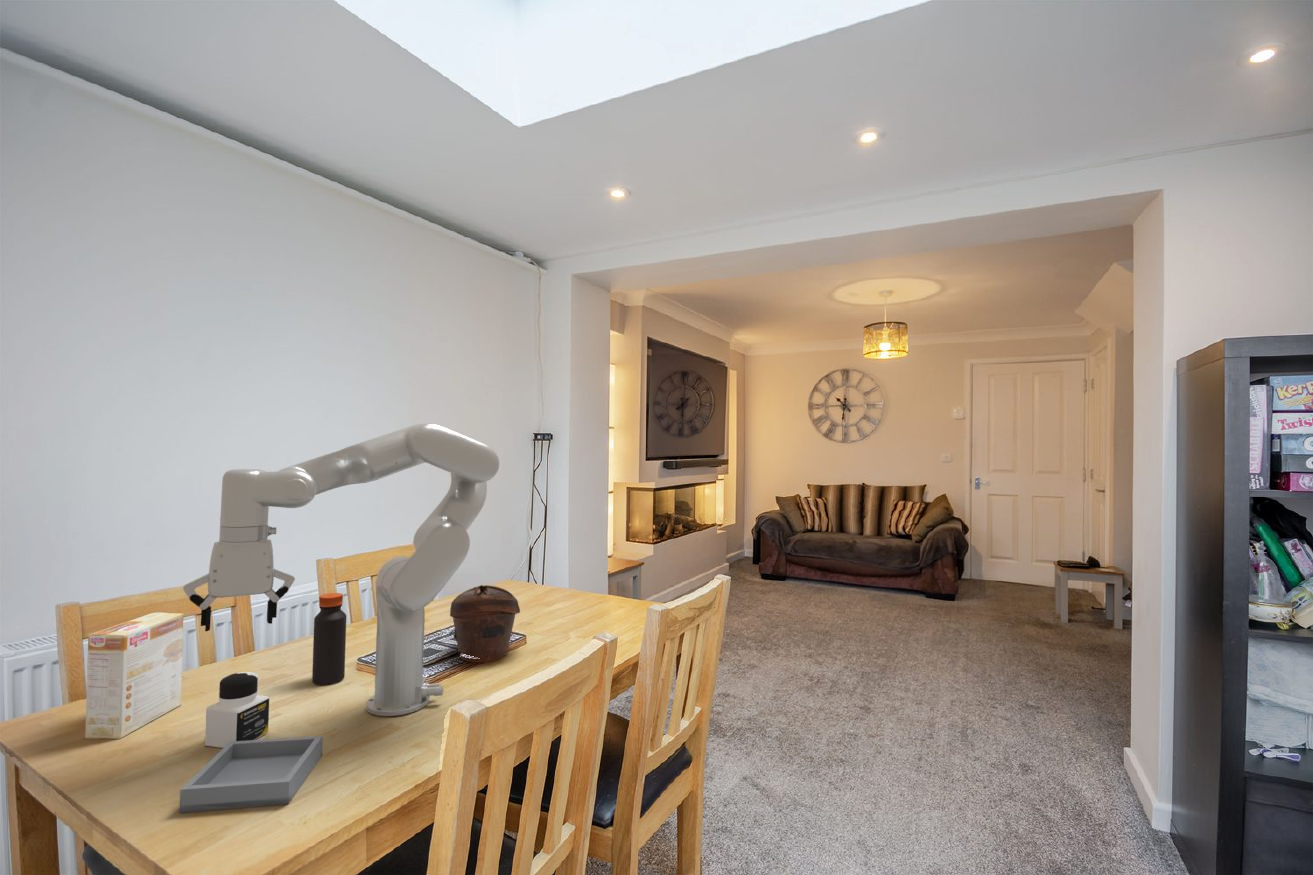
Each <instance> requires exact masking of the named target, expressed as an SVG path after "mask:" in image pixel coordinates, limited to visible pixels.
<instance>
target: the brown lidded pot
mask: <svg viewBox="0 0 1313 875" xmlns="http://www.w3.org/2000/svg"><path fill="white" fill-rule="evenodd" d="M520 612H521V609H520V605H519V601H518V599H517V598H516V597H515V596H514V594H513V593H511V592H510V591H509V590H507V589H505V588H502V587H499V586H495V585H489V584H488V585H484V584H483V585H478V586H474V587H472V588H469V589H467V590H465V591H463V592H462V593H460V594H458V595H457V596H456V597H455V598H454V599H453V600H452V601H451V604H450V610H449V616H450V617H451V618H452V620H453V628H454V629H453V630H451V631H450V632H449V636H451V635H452V634H453V633H454V634H453V639H454V640H456V644H457V650H459V651H460V652H461V653H463V654H466V655H470V656H474V657H478V658H480V659H469V658H465V657H462V656H461V657H460V656H459V658H460V659H462V661H465V662H469V663H488V662H489V663H490V662H493V661H497V660H500V659H503V658H504V657H505V656H506V655H507V654H508V652H509V648H510V643H511V636H512V632H513V627H514V624H515V617H516V615H517V614H520ZM459 651H458V652H459Z"/></svg>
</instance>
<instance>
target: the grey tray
mask: <svg viewBox="0 0 1313 875" xmlns="http://www.w3.org/2000/svg"><path fill="white" fill-rule="evenodd" d="M323 745H324V735H315V736H314V735H313V736H311V735H310V736H299V737H298V736H297V737H281V738H265V739H256V740H247V741H231V742H229V743H228V744H227V745H226V746H225V747H224V748H221V749H220V750H219V752H217V754H215V755H214V756H213V757H212V759H210V760H209V762H207V763H206V764H205V765H204V766H203V767H202V768H201V769H200V770H199V771H198V772H197V773H196V774H195V775H194V776H193V777H191V779H190V780H188V781H187V782H186V784H184V786H183V787H181V788H180V790H179V810H178V811H179V812H178V813H179V814H186V813H198V812H210V811H221V810H233V809H234V810H235V809H246V808H255V807H256V808H258V807H269V806H272V807H273V806H282V805H289V804H290V803H291V801H293V798H294V797H295V795H296V794H297V792H298V791H299V790H300V788H301V787H302V785H303V784H304V782H306V780H307V778H308V777H309V775H310V774H311V773H312V771H313V770H314V768H315V767H316V765H317V764H318V763H319V761H320V759H322V757H323V749H324V748H323Z"/></svg>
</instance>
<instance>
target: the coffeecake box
mask: <svg viewBox="0 0 1313 875" xmlns="http://www.w3.org/2000/svg"><path fill="white" fill-rule="evenodd" d="M184 615H185V613H179V612H178V613H177V612H176V613H173V612H172V613H170V612H151V613H148V614H145V615H143V616H142V615H141V616H139V617H136V618H134V619H131V620H128V621H125V622H122V623H118V624H116V625H113V626H110V627H107V628H105V629H101V630H99V631H96V632H92V633H90V634H88V635H87V637H88V638H87V639H88V640H87V642H88V643H87V666H86V667H87V668H86V670H87V672H86V674H87V675H86V699H85V700H86V703H85V704H86V706H85V707H86V709H85V732H84V733H85V734H84V735H85V736H84V738H85V739H107V740H108V739H114V740H115V739H116V740H120V739H122V738H124V737H125V736H127V735H129V734H130V733H133V732H134V731H136V730H138V729H140V728H142V727H143V726H146V725H147V724H149V723H151V722H152V721H154V720H157V719H159V718H161V717H162V716H163V715H166V714H167V713H169V712H171V711H172V710H175V709H176V708H178V707H180V706H181V705H182V674H183V642H184V639H183V638H184Z"/></svg>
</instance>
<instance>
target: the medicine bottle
mask: <svg viewBox="0 0 1313 875" xmlns="http://www.w3.org/2000/svg"><path fill="white" fill-rule="evenodd" d="M218 689H219V690H218V691H219V692H218V699H219V700H218V702H215V703H213V704H211V705H209V706H207V707H206V710H205V737H204V745H205V746H206V747H212V748H218V749H219V748H220V749H223V748H224V747H225V746H226V745H227V744H228V743H229V742H231V741H247V740H259V739H260V738H261V737H263V736H265V735H267V734H268V733H269V720H270V718H269V716H270V712H269V711H270V697H269V696H267V695H262V694H261V695H259V675H258V674H257V673H255V672H252V671H241V672H235V673H233V674H232V673H231V674H229V675H227V676H225V677H223V678H222V679H221V680H220V681H219V688H218Z"/></svg>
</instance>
